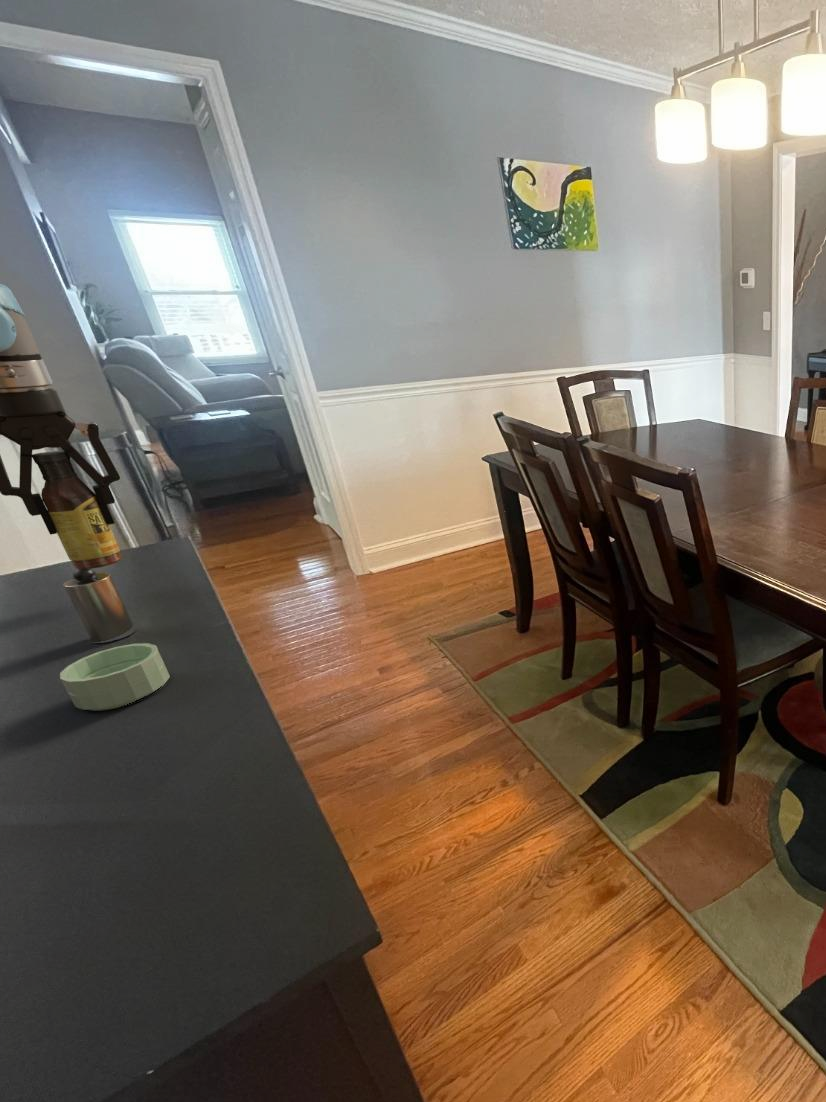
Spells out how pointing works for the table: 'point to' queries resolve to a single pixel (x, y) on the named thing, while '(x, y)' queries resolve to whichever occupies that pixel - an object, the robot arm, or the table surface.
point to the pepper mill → (98, 604)
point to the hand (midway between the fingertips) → (82, 527)
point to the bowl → (115, 676)
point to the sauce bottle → (76, 513)
